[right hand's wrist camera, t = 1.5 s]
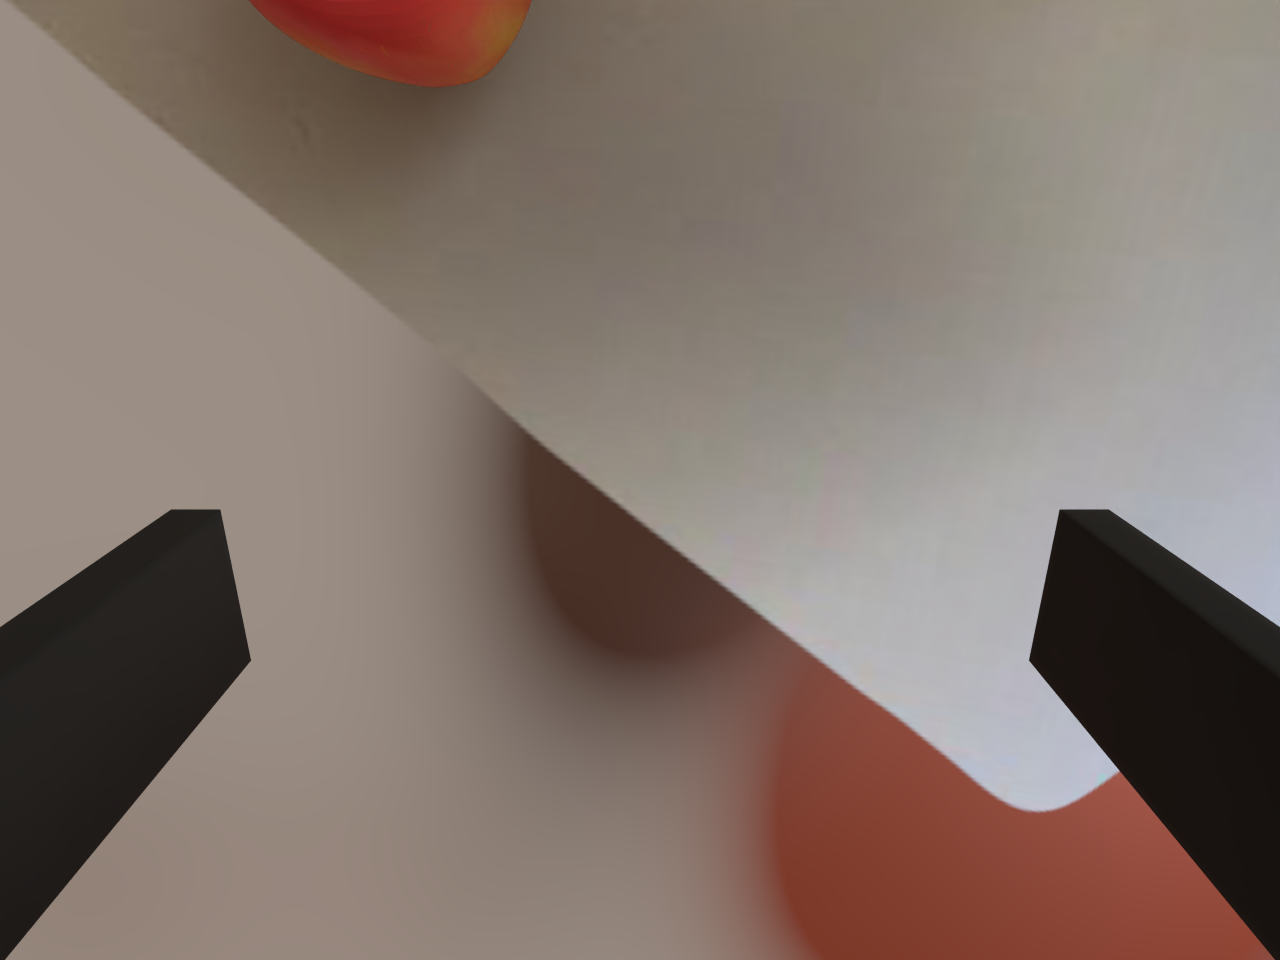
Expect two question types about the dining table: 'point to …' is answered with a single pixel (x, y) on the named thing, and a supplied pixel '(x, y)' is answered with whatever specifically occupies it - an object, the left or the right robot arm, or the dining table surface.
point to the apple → (404, 35)
